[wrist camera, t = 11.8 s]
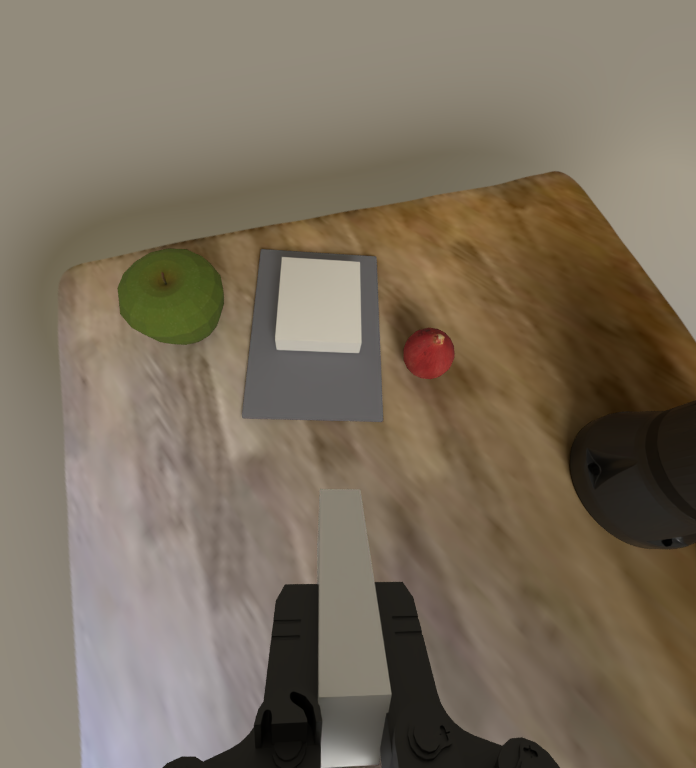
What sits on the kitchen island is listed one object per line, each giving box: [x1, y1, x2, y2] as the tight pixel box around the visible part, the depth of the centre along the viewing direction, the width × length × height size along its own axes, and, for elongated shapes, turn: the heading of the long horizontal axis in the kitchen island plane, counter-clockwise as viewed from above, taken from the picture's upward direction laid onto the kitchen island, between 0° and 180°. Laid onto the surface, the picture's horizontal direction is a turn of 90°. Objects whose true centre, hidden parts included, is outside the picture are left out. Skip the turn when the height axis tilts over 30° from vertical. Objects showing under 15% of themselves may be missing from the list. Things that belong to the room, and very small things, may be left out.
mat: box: [242, 249, 383, 422], centre depth 47 cm, size 24×16×1 cm, turn 0°
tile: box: [275, 257, 362, 353], centre depth 46 cm, size 3×10×12 cm
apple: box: [118, 249, 224, 345], centre depth 41 cm, size 11×10×10 cm
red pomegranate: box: [404, 328, 454, 379], centre depth 43 cm, size 6×6×8 cm
